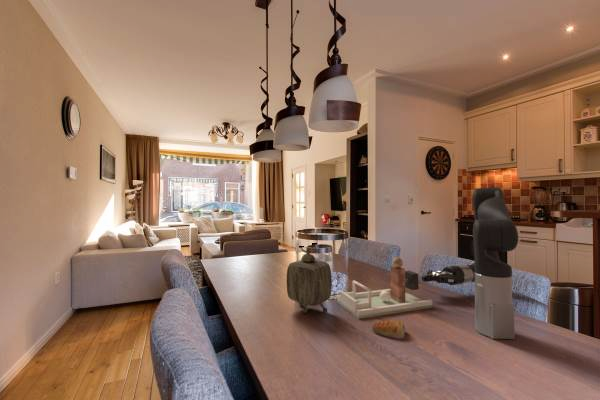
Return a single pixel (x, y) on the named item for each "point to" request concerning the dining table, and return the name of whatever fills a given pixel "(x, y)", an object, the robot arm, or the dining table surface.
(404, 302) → the pitch
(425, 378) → the dining table surface
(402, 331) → the pastry
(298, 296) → the tabletop clock
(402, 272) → the striker
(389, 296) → the ball
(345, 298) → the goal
